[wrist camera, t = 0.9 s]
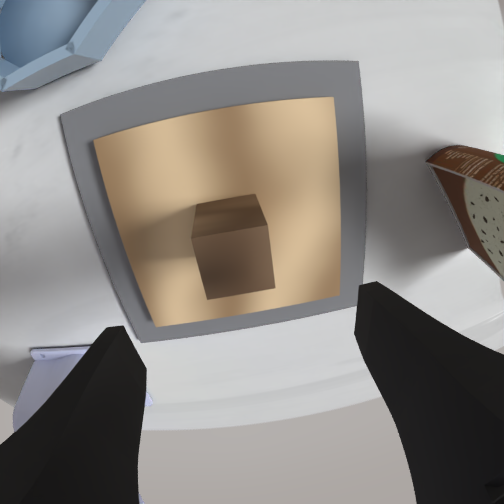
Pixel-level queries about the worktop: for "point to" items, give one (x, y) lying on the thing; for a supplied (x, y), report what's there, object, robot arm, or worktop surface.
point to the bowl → (56, 37)
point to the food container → (474, 198)
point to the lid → (229, 208)
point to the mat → (208, 98)
